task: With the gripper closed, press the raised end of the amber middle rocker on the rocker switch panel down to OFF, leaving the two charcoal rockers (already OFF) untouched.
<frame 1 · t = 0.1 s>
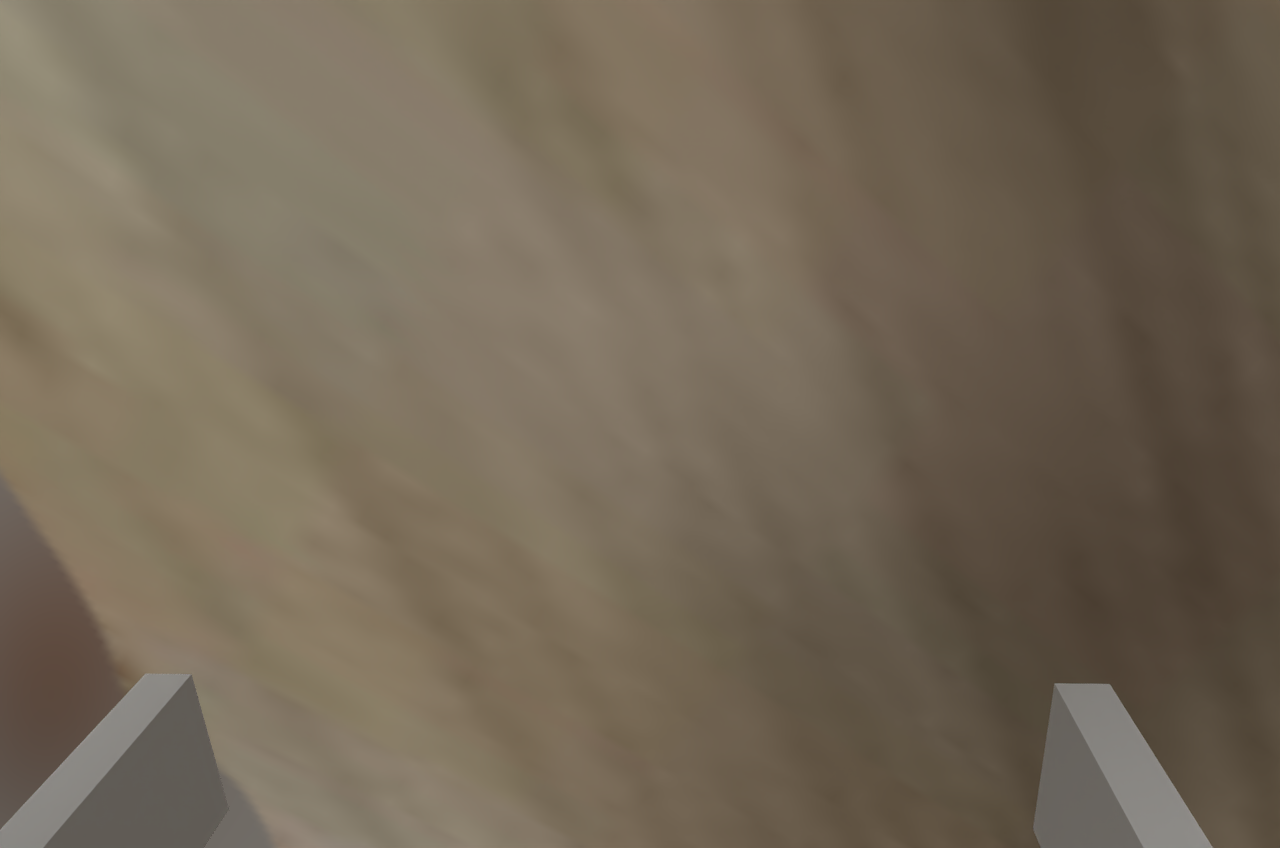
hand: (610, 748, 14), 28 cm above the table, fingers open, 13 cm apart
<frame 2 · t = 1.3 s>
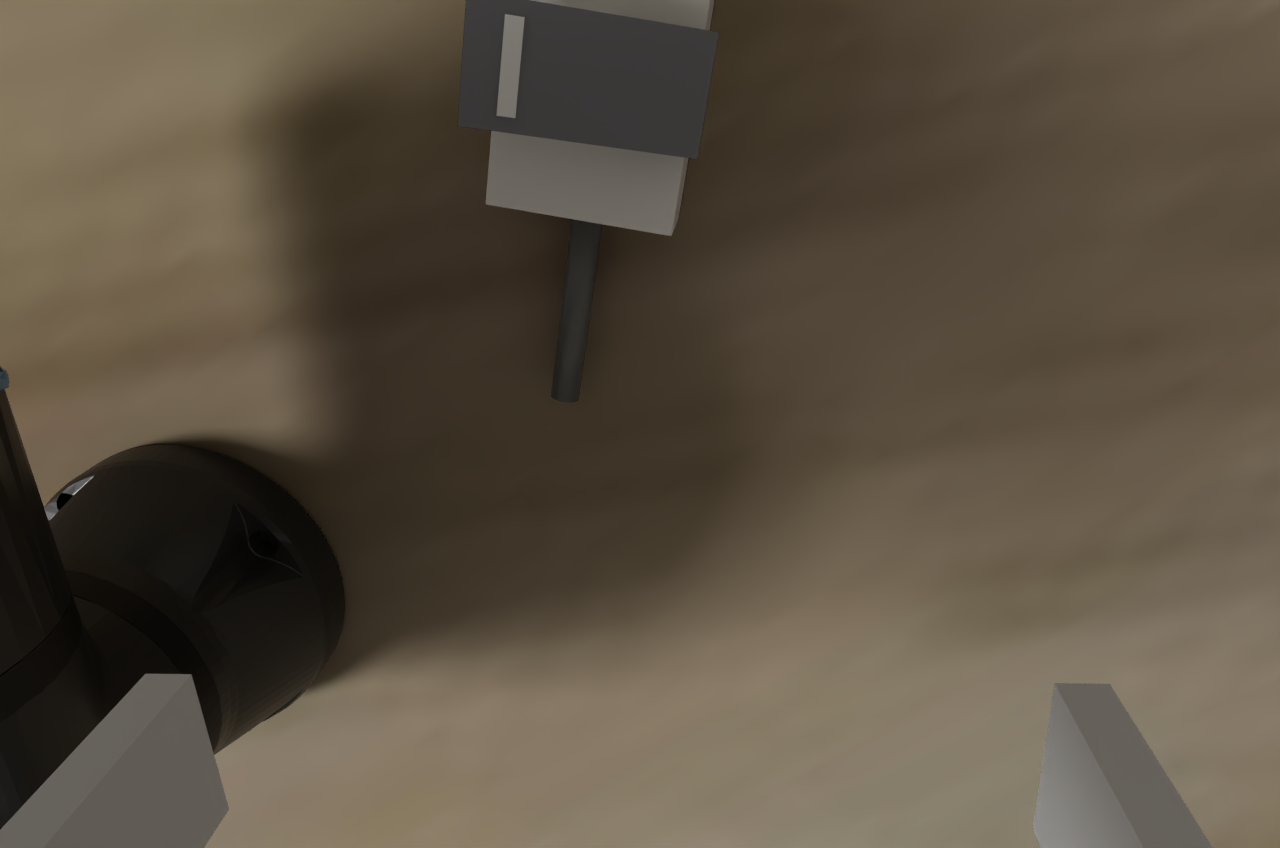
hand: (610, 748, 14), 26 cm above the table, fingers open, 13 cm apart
rocker 1: (586, 78, 30), point 6 cm above the table, hinge at 15.0°
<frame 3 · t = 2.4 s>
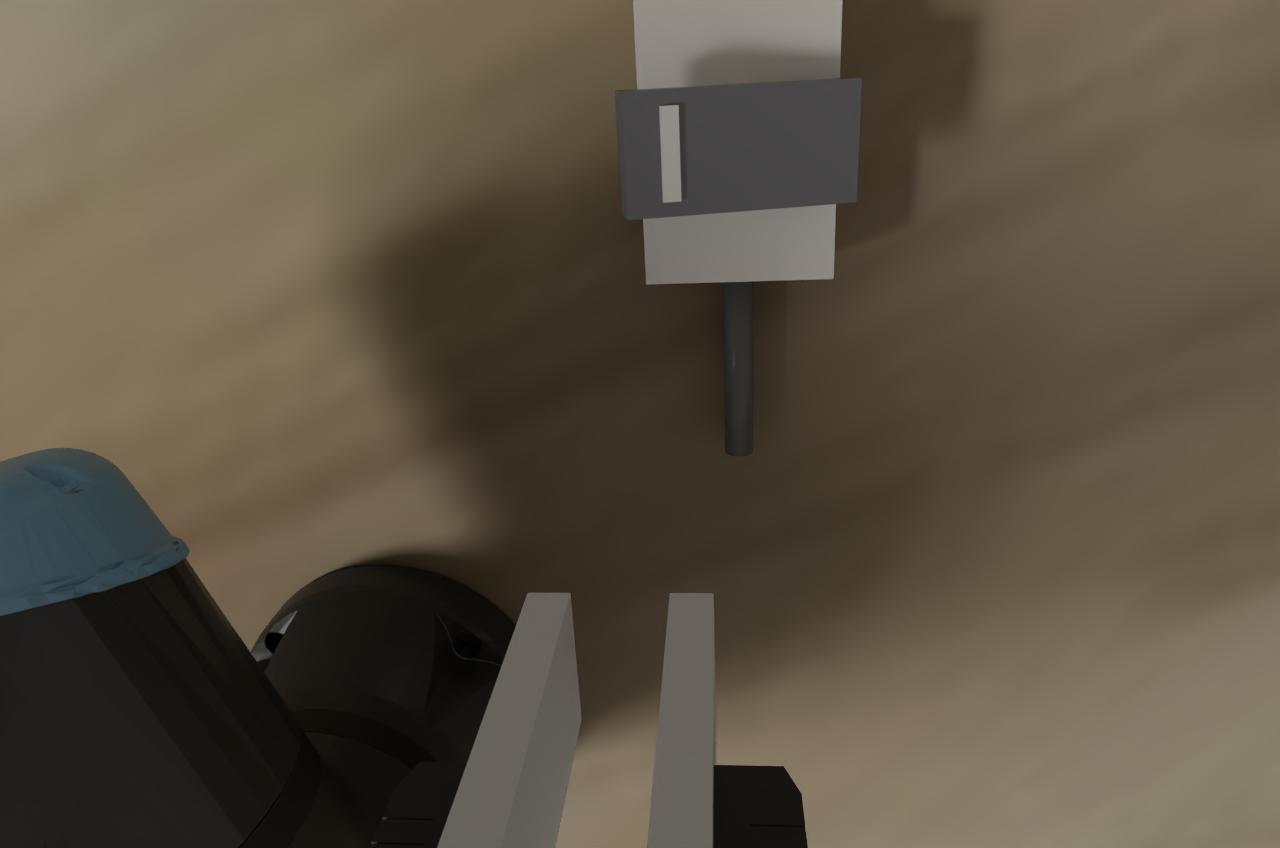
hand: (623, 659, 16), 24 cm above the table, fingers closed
rocker 1: (739, 148, 30), point 6 cm above the table, hinge at 15.0°
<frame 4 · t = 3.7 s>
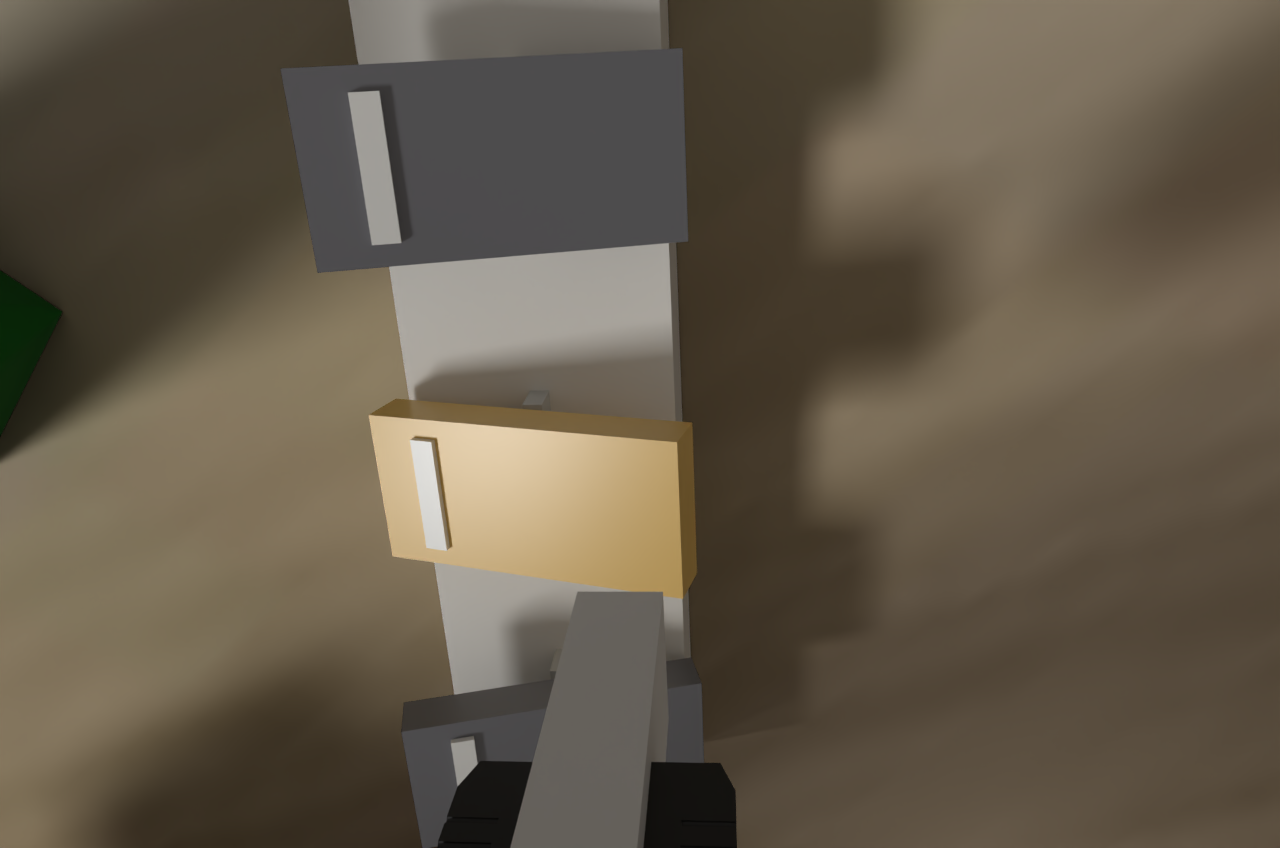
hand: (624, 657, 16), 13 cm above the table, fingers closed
rocker switch panel: (568, 408, 28), on the table
rocker 1: (559, 753, 25), point 6 cm above the table, hinge at 15.0°
rocker 2: (531, 495, 22), point 6 cm above the table, hinge at -15.0°
rocker 3: (497, 159, 19), point 6 cm above the table, hinge at 15.0°
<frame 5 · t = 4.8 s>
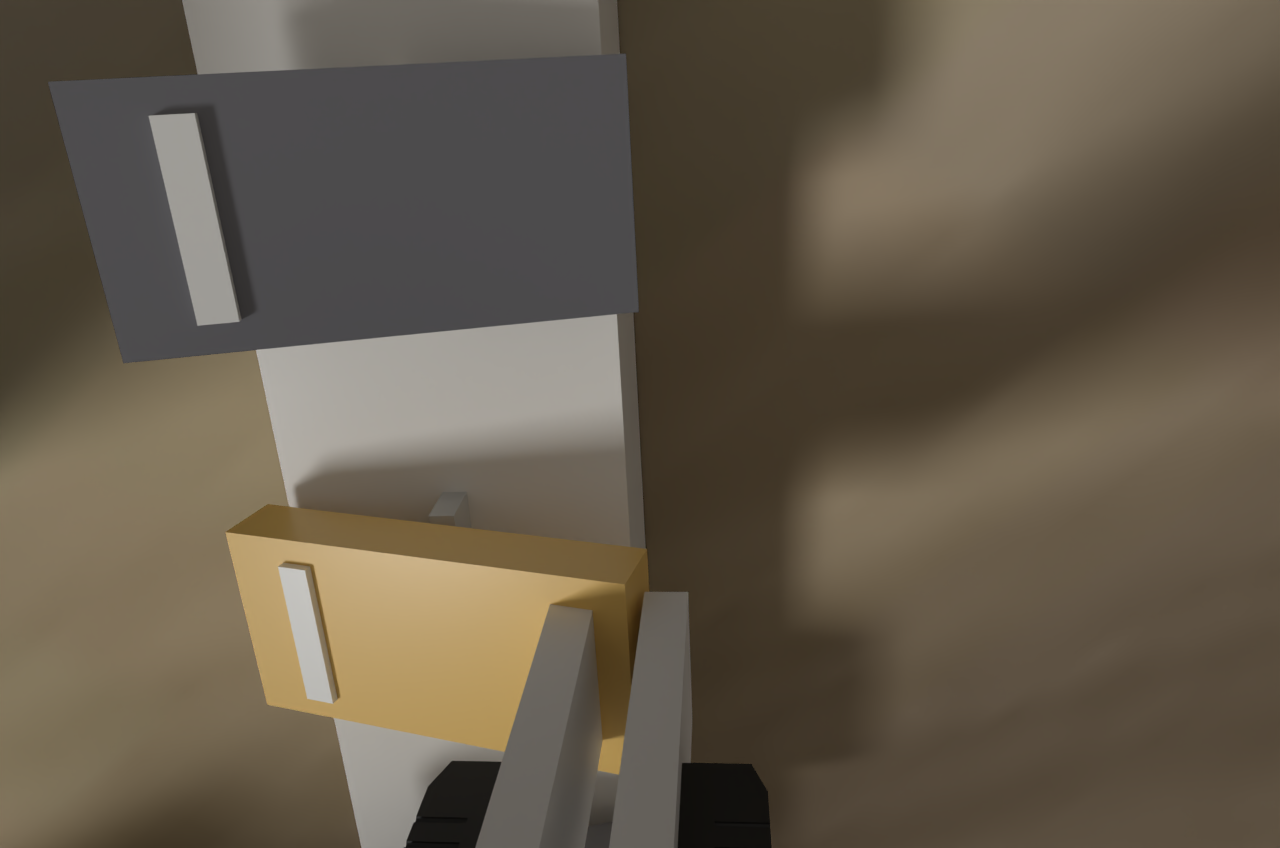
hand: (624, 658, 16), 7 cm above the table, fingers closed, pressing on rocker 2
rocker switch panel: (503, 494, 23), on the table
rocker 2: (439, 635, 17), point 6 cm above the table, hinge at -14.7°, touching gripper
rocker 3: (376, 204, 14), point 6 cm above the table, hinge at 15.0°
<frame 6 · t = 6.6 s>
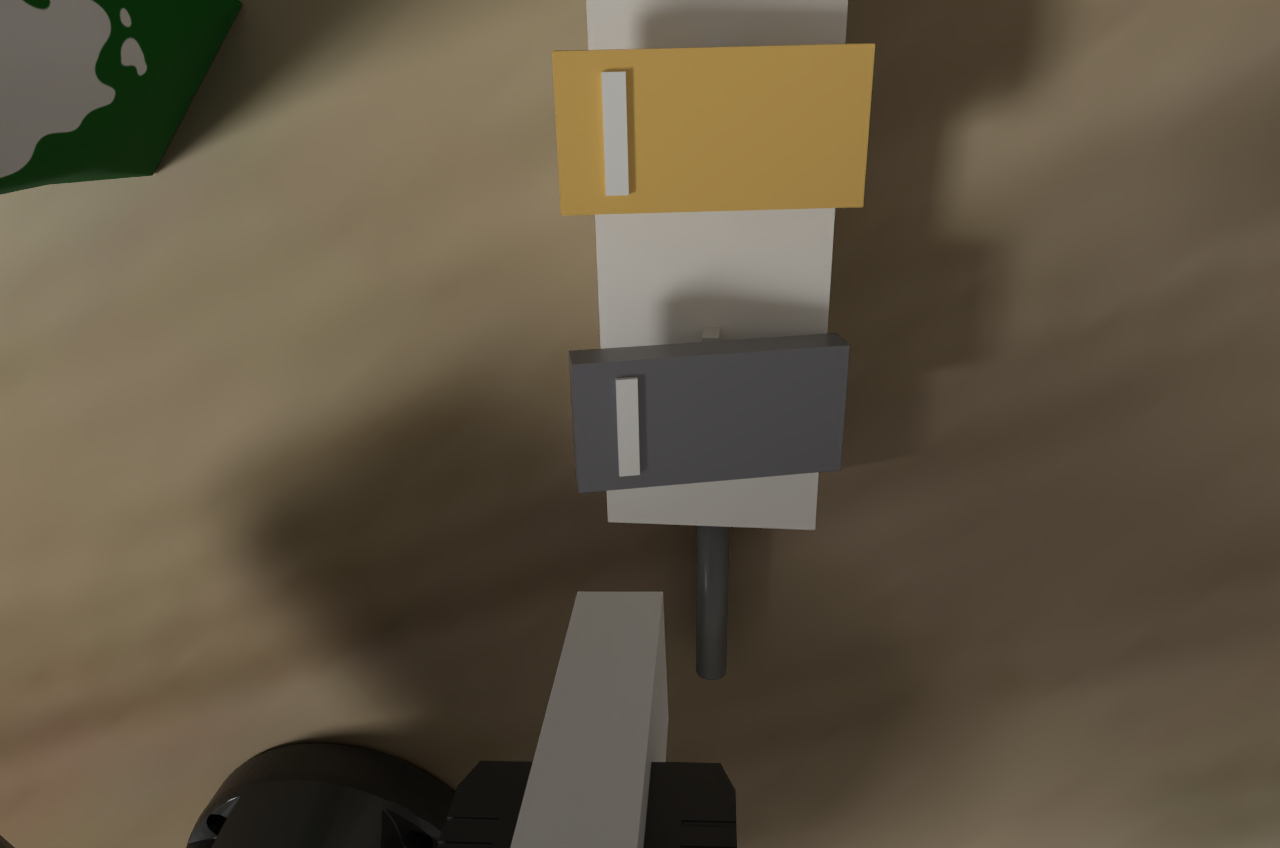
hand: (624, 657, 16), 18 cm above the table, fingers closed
rocker switch panel: (719, 111, 29), on the table
milk carton: (111, 25, 31), on the table
rocker 1: (709, 413, 27), point 6 cm above the table, hinge at 15.0°
rocker 2: (711, 130, 24), point 6 cm above the table, hinge at 8.3°
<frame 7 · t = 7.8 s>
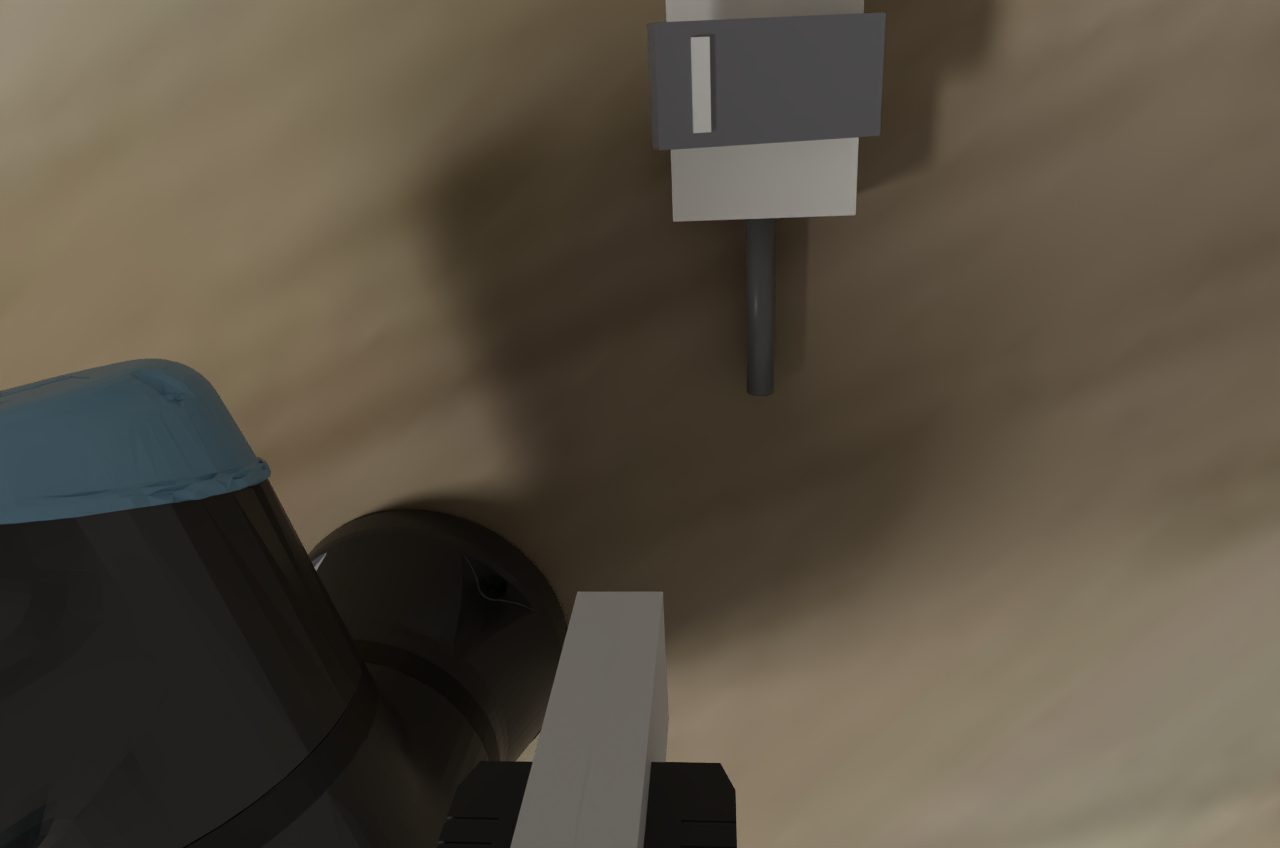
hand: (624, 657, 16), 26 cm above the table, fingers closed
rocker 1: (767, 81, 31), point 6 cm above the table, hinge at 15.0°
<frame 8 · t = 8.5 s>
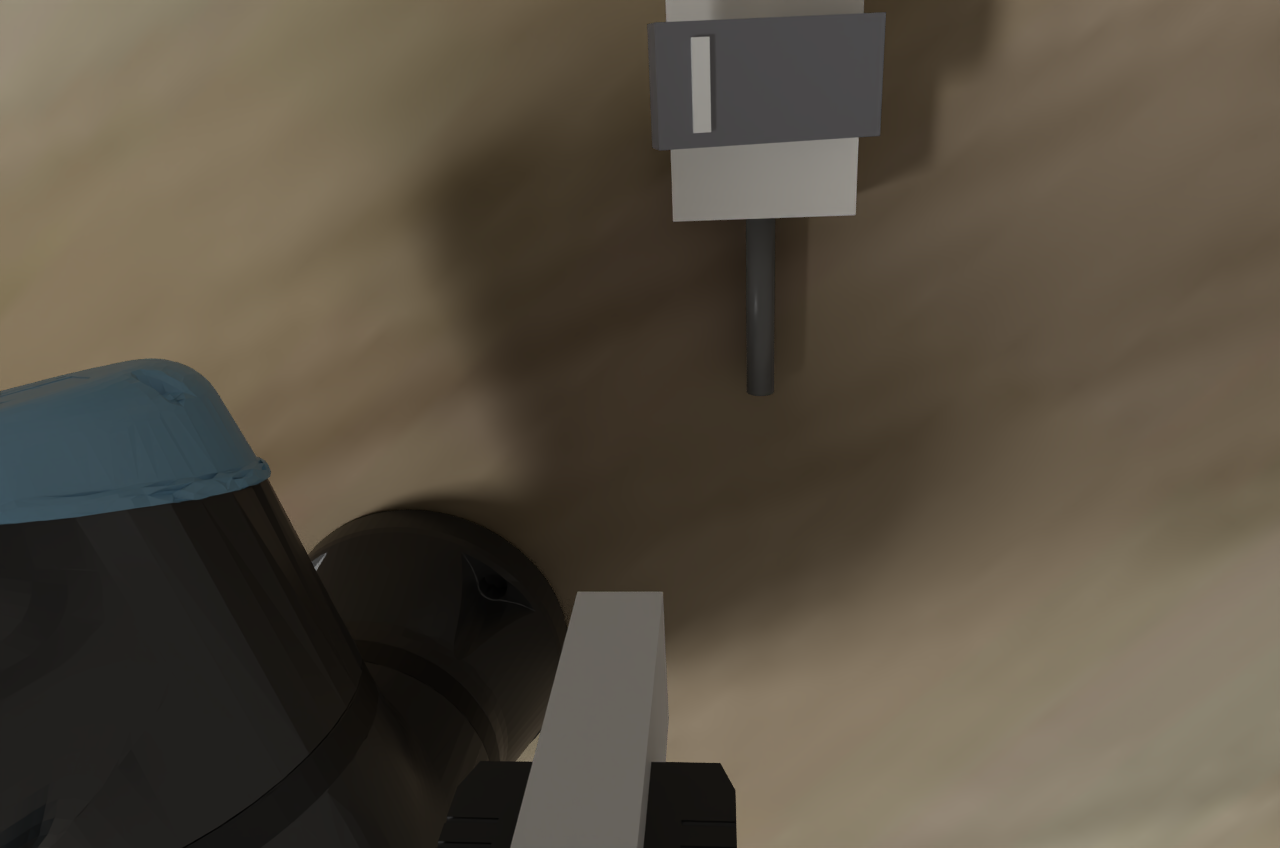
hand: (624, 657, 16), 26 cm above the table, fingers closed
rocker 1: (767, 81, 31), point 6 cm above the table, hinge at 15.0°
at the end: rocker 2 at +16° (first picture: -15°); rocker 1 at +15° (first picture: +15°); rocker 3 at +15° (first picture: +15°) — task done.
